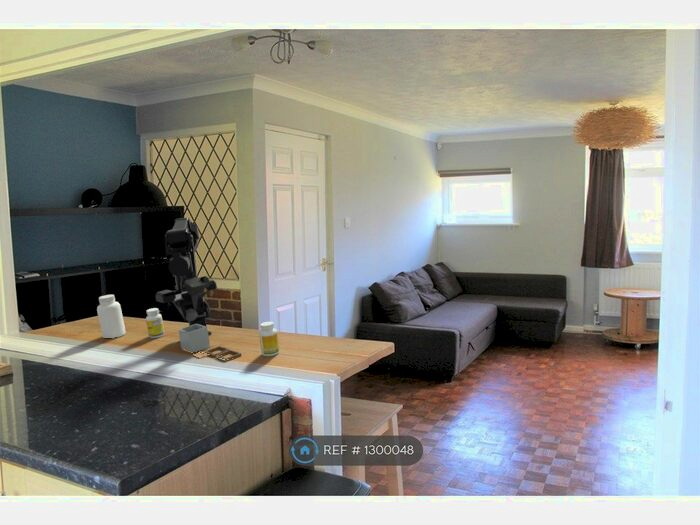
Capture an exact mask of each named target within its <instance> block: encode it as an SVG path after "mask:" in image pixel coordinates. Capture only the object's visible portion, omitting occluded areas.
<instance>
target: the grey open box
mask: <svg viewBox="0 0 700 525" xmlns="http://www.w3.org/2000/svg"><path fill="white" fill-rule="evenodd" d="M206 326H207V325H206ZM206 326H203V325H199V324H194V325H191V326H189V325H188V326H185V327H182V328H179V329H178V328H177V329H178V334H179V335H178V336H179V341H180V347H181V350H182V349H185V350H187V351H190V352H196V351H199V352H201V351H203V350H208V349H209V348H210V349H211V344H210V338H209V335H208V331H209V330H208V326H207V327H206ZM200 350H201V351H200ZM196 353H197V352H196Z"/></svg>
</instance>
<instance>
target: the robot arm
mask: <svg viewBox="0 0 700 525" xmlns="http://www.w3.org/2000/svg"><path fill="white" fill-rule="evenodd" d="M199 240H200V231H199V228H198V225H197V224H196V223H195V222H192V221H191V219H190V217H189V218H188V217H183V218H181V217H180V218H176V219H174V225H173V227H172V229H170V230H167V231H166V233H165V235H164V247H165V248H164V249H165V250H164V251H165V255H166V256H168V255H171V256H170V257H171V258H170V261H169V263H168V270H169V272H170V273H171V274H172V277H173V278H175V279H174V280H175V284H176V285H174V289H175V290H169V289H164V290H161V291H157V292H156V294H155V296H154V297H155V301H156V302H158V303H162V304H167V303H171V302H172V304H173V305H174V306H175V307H176V309H177V310H178V312H179V314H180V315H181V316H182V321H183V322H188V326H191V325H194V324H199V325H203V326H206V327H207V328H208V325H207V322H206V319H209V317H212V315H211V308H210V306H209V304H208V303H207V300H205V297H204V296H205V295H207V294H208V292H207V291H209V292H210V291H213V290H217V289H218V284H217V282H216V281H215V280H213V279H210V278H209V277H208V276H207V275H204V276H200V277H198V271H197V261H196V251H197V249H198V247H199ZM205 289H206V290H207V291H206V290H205ZM188 309H194V310H195V311H196V312H197V318H196V319H195V320H194V321H188V320H186V319H185V318H186V310H188ZM207 331H208V336H209V335H211V334H213V332H212V331H209V330H207Z"/></svg>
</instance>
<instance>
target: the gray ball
mask: <svg viewBox="0 0 700 525" xmlns="http://www.w3.org/2000/svg"><path fill="white" fill-rule="evenodd" d="M196 318H197V312H196V311H195V310H194V309H188V310H186V318H185V319H186V320H188V321H194V320H195V319H196ZM188 321H187V322H188Z"/></svg>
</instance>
